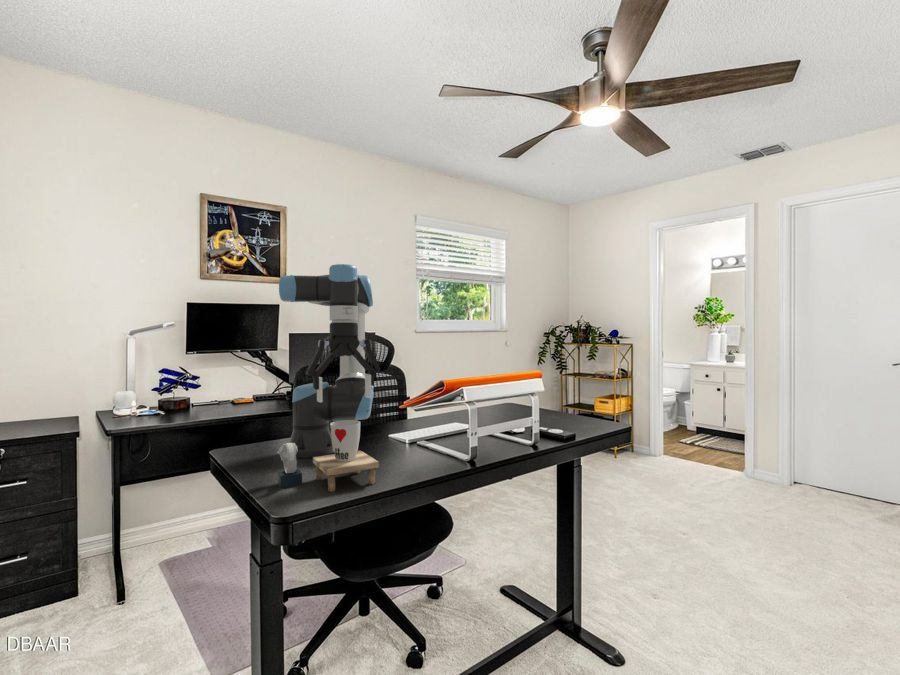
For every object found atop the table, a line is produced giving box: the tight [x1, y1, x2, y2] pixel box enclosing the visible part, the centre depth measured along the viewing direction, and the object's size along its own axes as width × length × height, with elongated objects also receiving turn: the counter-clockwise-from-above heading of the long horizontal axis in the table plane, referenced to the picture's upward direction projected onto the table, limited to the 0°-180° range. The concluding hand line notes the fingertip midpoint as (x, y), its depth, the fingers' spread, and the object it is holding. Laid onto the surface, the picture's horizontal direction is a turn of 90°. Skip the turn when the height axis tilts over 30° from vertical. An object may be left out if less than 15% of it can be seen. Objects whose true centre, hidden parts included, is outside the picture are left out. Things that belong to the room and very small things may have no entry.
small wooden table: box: [312, 450, 380, 493], centre depth 131 cm, size 14×14×6 cm
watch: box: [277, 442, 303, 489], centre depth 129 cm, size 6×8×11 cm
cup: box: [329, 420, 361, 462], centre depth 131 cm, size 8×8×10 cm
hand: (344, 399), depth 131 cm, fingers open, 13 cm apart
